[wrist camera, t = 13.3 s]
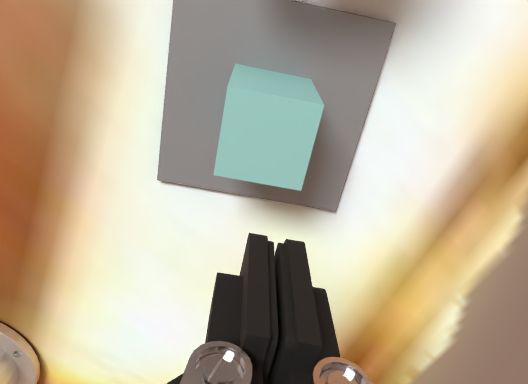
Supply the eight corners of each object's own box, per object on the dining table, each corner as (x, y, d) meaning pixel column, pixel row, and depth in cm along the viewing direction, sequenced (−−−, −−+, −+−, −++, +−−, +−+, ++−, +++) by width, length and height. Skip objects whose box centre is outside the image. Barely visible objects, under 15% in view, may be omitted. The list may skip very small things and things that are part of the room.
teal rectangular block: (293, 150, 30) (301, 190, 24) (223, 136, 30) (213, 175, 24) (311, 79, 28) (324, 105, 22) (235, 63, 27) (227, 85, 21)
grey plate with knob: (334, 208, 33) (348, 253, 27) (158, 177, 32) (136, 217, 26) (393, 22, 27) (427, 33, 21) (177, -25, 25) (153, -27, 20)
